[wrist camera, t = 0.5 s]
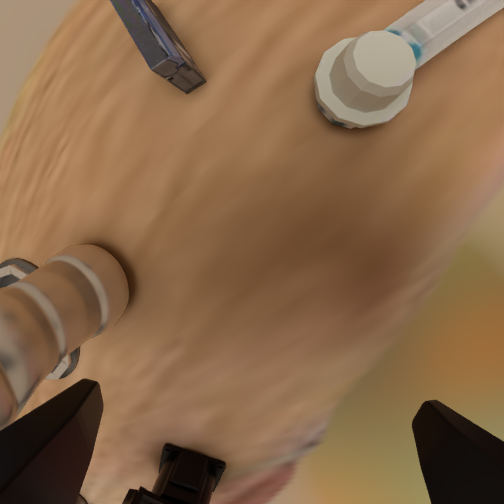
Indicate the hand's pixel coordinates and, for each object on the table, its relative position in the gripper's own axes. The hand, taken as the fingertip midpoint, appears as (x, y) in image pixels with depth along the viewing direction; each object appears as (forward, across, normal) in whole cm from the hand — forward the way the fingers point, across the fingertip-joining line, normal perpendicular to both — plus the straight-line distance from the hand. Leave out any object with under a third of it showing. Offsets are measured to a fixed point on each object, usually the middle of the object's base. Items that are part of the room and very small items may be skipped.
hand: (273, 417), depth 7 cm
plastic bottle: (+16, +11, +4) cm, 20 cm away
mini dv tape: (+16, +8, -13) cm, 22 cm away
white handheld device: (+14, -11, -19) cm, 26 cm away
